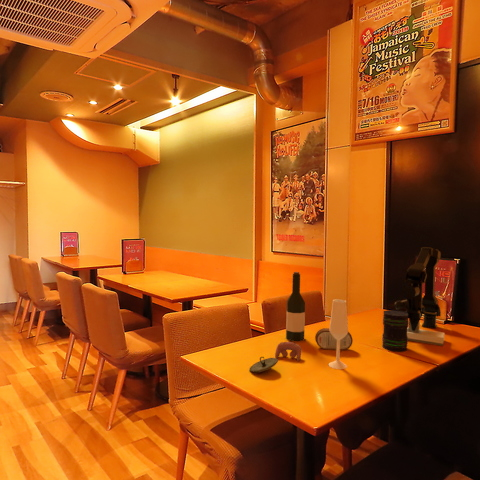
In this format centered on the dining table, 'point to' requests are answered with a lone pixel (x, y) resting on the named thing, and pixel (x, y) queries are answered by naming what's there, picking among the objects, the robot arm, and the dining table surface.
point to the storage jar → (395, 330)
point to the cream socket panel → (426, 337)
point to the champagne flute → (338, 328)
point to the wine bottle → (295, 312)
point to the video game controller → (288, 346)
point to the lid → (263, 365)
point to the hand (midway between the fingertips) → (414, 329)
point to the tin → (332, 340)
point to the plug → (415, 329)
